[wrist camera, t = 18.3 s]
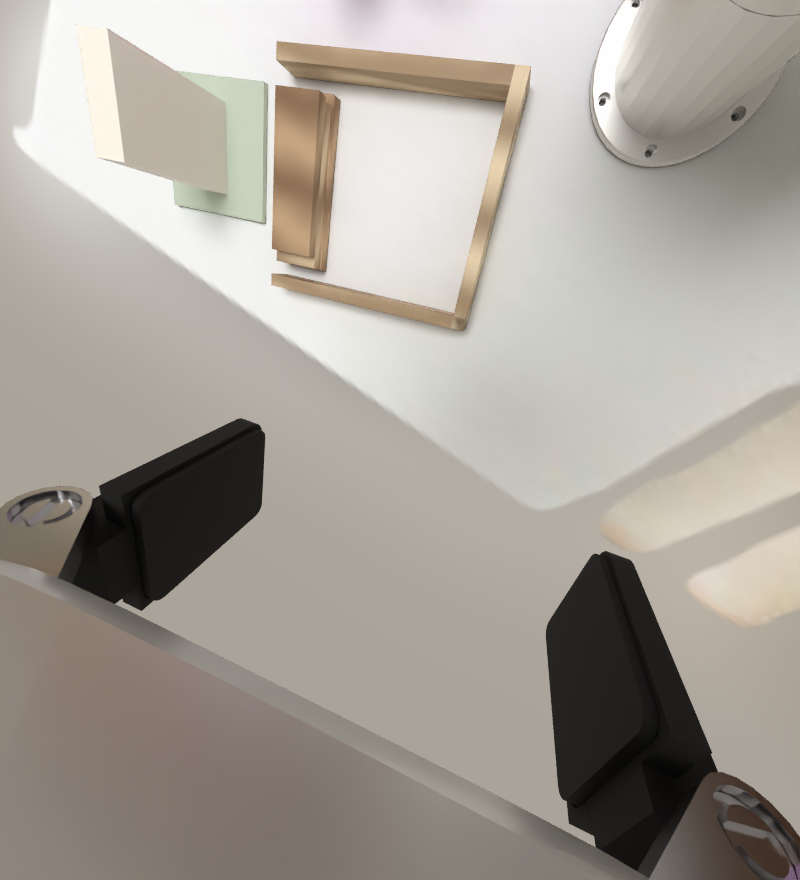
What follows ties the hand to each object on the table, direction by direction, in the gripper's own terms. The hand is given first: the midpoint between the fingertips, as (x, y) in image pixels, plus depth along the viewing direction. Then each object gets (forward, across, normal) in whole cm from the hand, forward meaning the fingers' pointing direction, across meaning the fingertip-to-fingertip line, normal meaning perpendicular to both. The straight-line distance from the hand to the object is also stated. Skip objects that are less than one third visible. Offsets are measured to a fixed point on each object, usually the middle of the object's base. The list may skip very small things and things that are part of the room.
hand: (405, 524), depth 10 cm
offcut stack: (+33, +23, -10) cm, 41 cm away
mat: (+33, +34, -12) cm, 49 cm away
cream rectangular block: (+32, +34, -12) cm, 49 cm away
